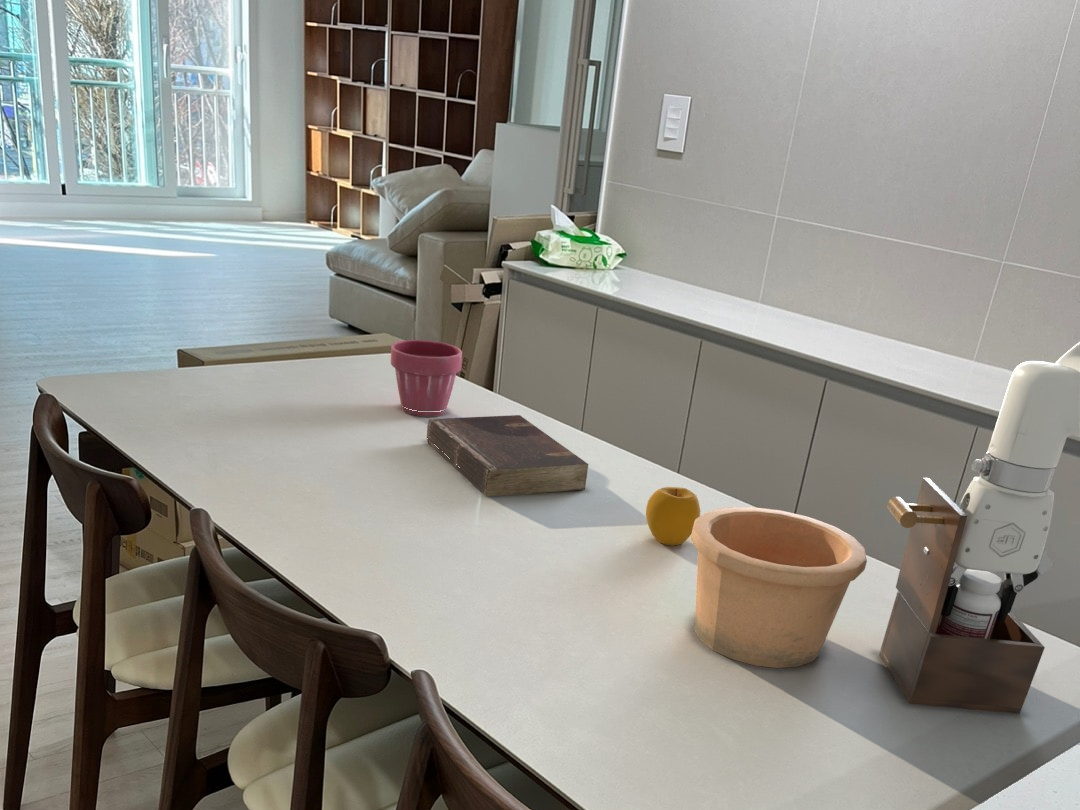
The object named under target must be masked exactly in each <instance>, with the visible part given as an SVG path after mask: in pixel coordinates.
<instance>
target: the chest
mask: <svg viewBox="0 0 1080 810" xmlns="http://www.w3.org/2000/svg"><path fill="white" fill-rule="evenodd" d="M941 615H942V614H941ZM941 615H940V618H941ZM940 618H939V621H940ZM938 624H939V622H938ZM937 628H938V626H937ZM936 631H937V629H936ZM1045 648H1046V646H1044V645H1043V643H1042V642H1040V640H1039V639H1038V638H1037V637H1036V636H1035V635H1034V634H1033V632H1032V631H1031V630H1029V628H1028V627H1027V626H1026V625H1025V624H1024V623H1023V622H1022V621H1021V620H1020V618H1019V617H1018V616H1017V615H1016V614H1015V613H1014V612H1013V611H1012V610H1011V611H1010V613H1008V614H1007V617H1006V620H1005V622H999V621H998V620H997V619H996V621H995V624H994V627H993V630H992V633H991V636H990V639H984V638H973V637H962V636H951V635H941V634H936V633H929V632H928V631H927V629H926V628H925V627H924V625H923V624H922V623H921V621H920V620H919V618H918V617H917V616H916V614H915V613H914V612H913V610H912V609H911V608H910V606H909V605H908V603H907V602H906V601H905V599H904V598H903V597H902V595H901V594H900V593H899V591H898V590H897V592H896V595H895V598H894V602H893V607H892V609H891V612H890V616H889V619H888V623H887V626H886V629H885V633H884V636H883V640H882V643H881V647H880V650H879V653H878V654H879V656H880V658H881V660H882V662H883V663H884V664H885V665H884V666H886V668H887V670H888V671H889V673H890V675H891V676H892V678H893V679H894V681H895V682H896V684H897V686H898V687H899V689H900V691H901V693H902V694H903V695H904V697H905V698H906V701H907V702H908V703H909V705H917V706H919V705H920V706H929V707H939V708H952V709H960V710H961V709H963V710H974V711H986V712H996V713H1005V714H1006V713H1008V714H1009V713H1010V714H1016V715H1017V714H1018V715H1020V714H1021V712H1022V709H1023V708H1024V707H1023V706H1024V704H1025V701H1026V699H1027V696H1028V694H1029V691H1030V688H1031V685H1032V682H1033V680H1034V677H1035V675H1036V673H1037V669H1038V667H1039V664H1040V662H1041V659H1042V656H1043V653H1044V651H1045Z"/></svg>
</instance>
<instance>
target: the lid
mask: <svg viewBox="0 0 1080 810" xmlns="http://www.w3.org/2000/svg"><path fill="white" fill-rule="evenodd" d="M958 506H959V505H957V503H955V502H954V501H953V500H952V499H951V498H950V497H949V496H948V495H947V494H946V493H945V492H944V491H943V490H942V489H941V488H940V487H939V486H938V485H937V484H936V483H934V481H932V479H931V478H929V477H922V480H921V484H920V488H919V492H918V496H917V500H916V503H912V502H911V503H910V502H909V503H908V502H906V501H905V500H904V498H903V497H900V496H893V497H891V498H890V499H889V501H888V502H887V506H886V508H887V510H888V512H889V513H890V514H891V515H892V516H893V517H894V519H895V520H896V521H897V522H898V523H899V524H900V526H901V527H903V528H904V529H909V532H908V536H907V539H906V544H905V548H904V552H903V557H902V560H901V564H900V569H899V572H898V577H897V580H896V585H895V589H896V590H897V592H898V591H899V593H900V594H901V595H902V597H903V598H904V599H905V601H906V602H907V603H908V605H909V606H910V608H911V609H912V610H913V612H914V613H915V614H916V616H917V617H918V618H919V620H920V621H921V623H922V624H923V625H924V627H925V628H926V629H927V631H928V632H929V633H936V629H937V626H938V622H939V618H940V615H941V611H942V607H943V604H944V600H945V597H946V593H947V589H948V586H949V582H950V578H951V575H952V571H953V567H954V564H955V560H956V556H957V553H958V549H959V545H960V542H961V538H962V534H963V531H964V527H965V523H966V520H967V515H966V514H965V513H964V512H963V511H962V510H961V509H960V508H959V507H958ZM925 546H926V547H927V549H928V550H929V552H928V555H926V554H925V553H924V551H923V549H924V547H925Z"/></svg>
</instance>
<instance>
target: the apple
mask: <svg viewBox="0 0 1080 810" xmlns="http://www.w3.org/2000/svg"><path fill="white" fill-rule="evenodd" d="M645 507H646V509H645V517H646V518H645V519H646V524H647V526H648V529H649V531H650V533H651V535H652V537H654V539H655V540H656V541H657V542H658V543H659V544H662V545H664V546H671V547H672V546H673V547H674V546H678V545H679V546H680V545H681V544H683V543H685V542H686V541H687V540H688V539H689V538H691V534H692V529H693V526H694V522H695V520H696V518H698V517H700V516H701V507H700V501H699V499H698V496H697V494H695V493H694V492H692V491H691V490H689V489H688V488H686V487H679V486H677V487H676V486H665V487H661V488H658V489H657V490H655V491H654V492H653V493H652V495H651V496H649V499H648V500H647V503H646V506H645Z"/></svg>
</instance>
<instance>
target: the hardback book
mask: <svg viewBox="0 0 1080 810" xmlns="http://www.w3.org/2000/svg"><path fill="white" fill-rule="evenodd" d="M426 428H427V429H426V440H427V444H428V445H429V446H430V447H432V449H433V450H434V451H436V452H437V453H438V454H439V455H440V456H441V457H442V458H443V459H445V460H446V461H447V463H449V465H451V466H452V467H453V468H454V469H455V470H456V471H458V473H459V474H461V475H462V476H463V477H464V478H465V479H466V480H467V481H468V482H470V483H471V484H472V486H474V487H475V488H476V489H477V490H478V491H480V493H483V494H484V496H486V497H499V496H516V495H517V496H518V495H533V494H534V495H535V494H546V493H547V494H548V493H549V494H550V493H560V492H562V493H563V492H574V491H585V490H586V484H587V477H588V470H589V463H588V462H586V461H585V460H584V459H582V458H580V457H579V455H576V454H575V453H574V452H572V451H571V450H570V449H568V448H567V447H565V446H564V445H563V444H561V443H559V442H558V441H557V440H556V439H554V438H553V437H551V436H550V435H549V434H547V433H546V432H545V431H543V430H542V429H540V428H539V427H538V426H536V425H534V424H533V423H532V422H530V421H529V420H527V419H526V418H525V417H523V416H522V415H520V414H515V415H514V414H513V415H512V414H511V415H493V416H492V415H491V416H469V417H468V416H467V417H466V416H465V417H447V418H446V417H445V418H444V417H443V418H429V419H428V422H427V427H426ZM427 438H428V439H427ZM434 444H435V445H436V446H437V447H438V448H439V449H438V448H437V447H436V446H435V445H434ZM442 451H443V452H442ZM444 453H445V454H446V455H447V456H448V457H449V458H450V459H449V458H448V457H447V456H446V455H445V454H444ZM456 464H457V465H456ZM458 466H459V467H460V468H459V467H458Z"/></svg>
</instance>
